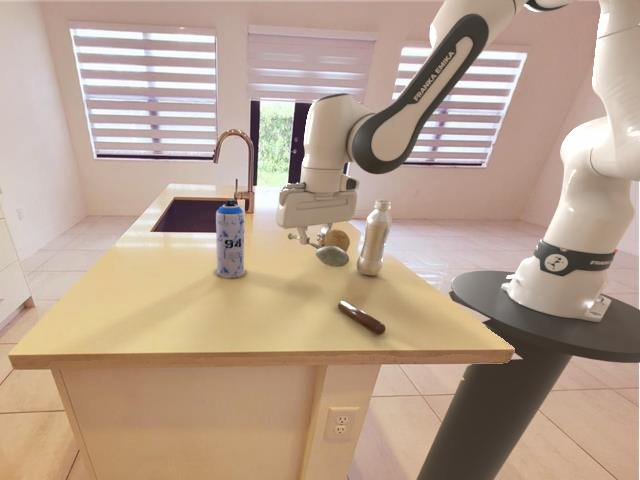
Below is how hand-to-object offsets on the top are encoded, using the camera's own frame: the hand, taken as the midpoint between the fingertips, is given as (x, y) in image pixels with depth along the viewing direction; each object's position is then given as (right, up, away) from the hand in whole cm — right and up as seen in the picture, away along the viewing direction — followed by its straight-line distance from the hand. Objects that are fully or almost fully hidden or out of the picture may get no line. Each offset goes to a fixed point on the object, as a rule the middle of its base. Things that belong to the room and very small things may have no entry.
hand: (313, 242), depth 75 cm
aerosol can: (-20, -6, +14) cm, 25 cm away
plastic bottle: (+19, -7, +14) cm, 24 cm away
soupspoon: (0, -2, 0) cm, 2 cm away
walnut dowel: (+8, -18, -9) cm, 22 cm away
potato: (+11, -2, +22) cm, 25 cm away
